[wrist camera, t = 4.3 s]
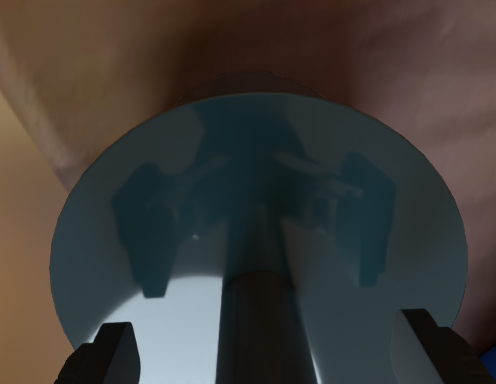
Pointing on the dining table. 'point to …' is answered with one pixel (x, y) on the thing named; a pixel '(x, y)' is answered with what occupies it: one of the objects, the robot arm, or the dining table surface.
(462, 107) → the dining table surface
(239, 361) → the lid
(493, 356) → the vase
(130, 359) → the robot arm
